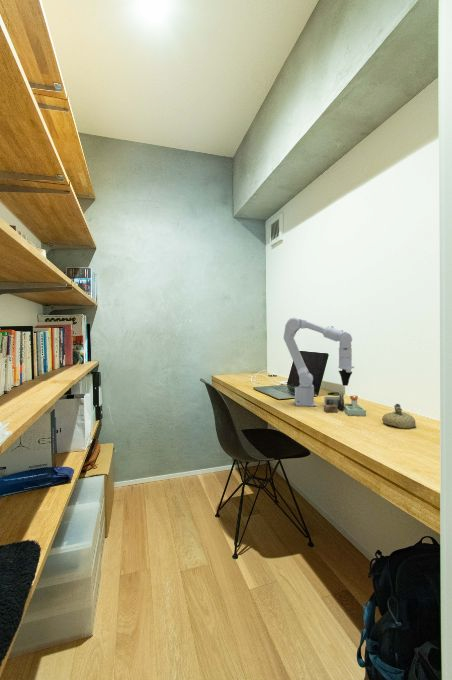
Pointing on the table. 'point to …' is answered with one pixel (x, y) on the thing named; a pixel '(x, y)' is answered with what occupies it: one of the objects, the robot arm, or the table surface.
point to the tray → (355, 411)
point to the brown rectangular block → (331, 408)
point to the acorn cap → (399, 418)
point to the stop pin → (354, 402)
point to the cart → (335, 401)
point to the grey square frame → (349, 404)
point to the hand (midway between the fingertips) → (345, 385)
